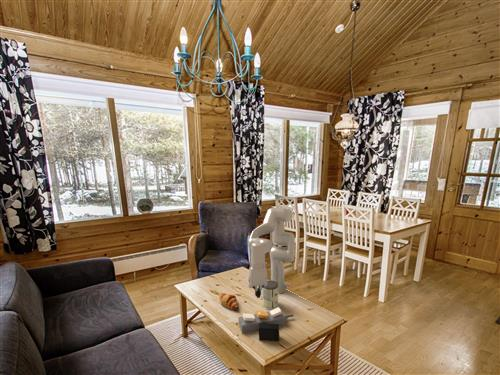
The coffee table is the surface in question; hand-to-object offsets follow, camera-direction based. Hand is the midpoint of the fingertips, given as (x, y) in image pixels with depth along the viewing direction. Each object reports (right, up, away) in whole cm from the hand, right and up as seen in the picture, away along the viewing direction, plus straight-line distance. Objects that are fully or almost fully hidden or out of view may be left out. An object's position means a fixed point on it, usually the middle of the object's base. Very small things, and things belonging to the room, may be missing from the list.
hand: (258, 296), depth 137 cm
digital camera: (+6, -18, -8) cm, 21 cm away
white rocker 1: (-5, -12, 0) cm, 13 cm away
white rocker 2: (+10, -11, +4) cm, 16 cm away
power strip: (+5, -17, +3) cm, 18 cm away
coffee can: (+9, -15, +22) cm, 28 cm away
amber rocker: (+3, -11, +2) cm, 12 cm away
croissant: (-18, -16, +24) cm, 34 cm away
